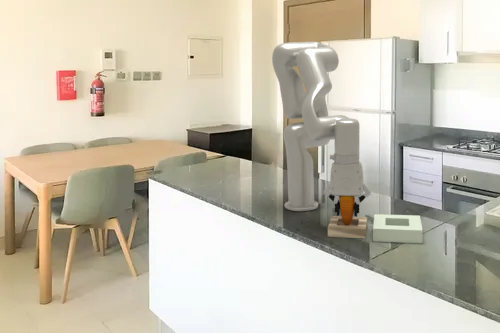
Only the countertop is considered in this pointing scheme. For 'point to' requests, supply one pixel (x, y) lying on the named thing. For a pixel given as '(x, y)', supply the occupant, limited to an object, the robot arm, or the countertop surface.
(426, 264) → the countertop surface
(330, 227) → the socket block
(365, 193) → the robot arm
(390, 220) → the pale green square frame
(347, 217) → the carrot
